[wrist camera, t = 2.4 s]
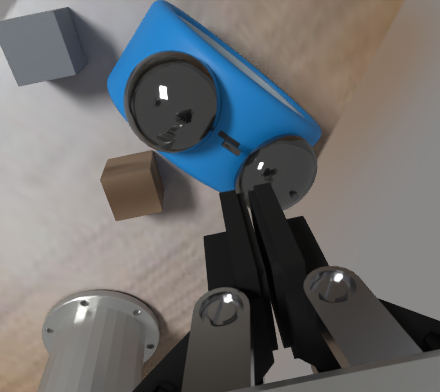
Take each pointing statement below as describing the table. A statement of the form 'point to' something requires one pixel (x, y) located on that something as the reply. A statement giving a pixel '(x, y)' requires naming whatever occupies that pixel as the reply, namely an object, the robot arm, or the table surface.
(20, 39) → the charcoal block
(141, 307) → the robot arm
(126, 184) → the walnut block
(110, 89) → the alarm clock
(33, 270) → the table surface
